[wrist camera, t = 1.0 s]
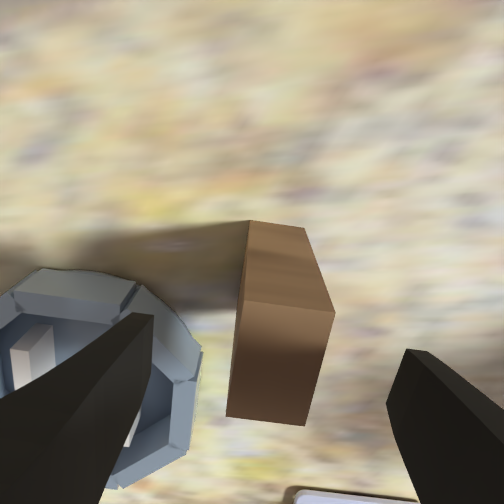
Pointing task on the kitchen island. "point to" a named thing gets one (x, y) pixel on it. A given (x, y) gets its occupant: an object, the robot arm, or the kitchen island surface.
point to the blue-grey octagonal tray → (87, 330)
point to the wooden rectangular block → (278, 327)
